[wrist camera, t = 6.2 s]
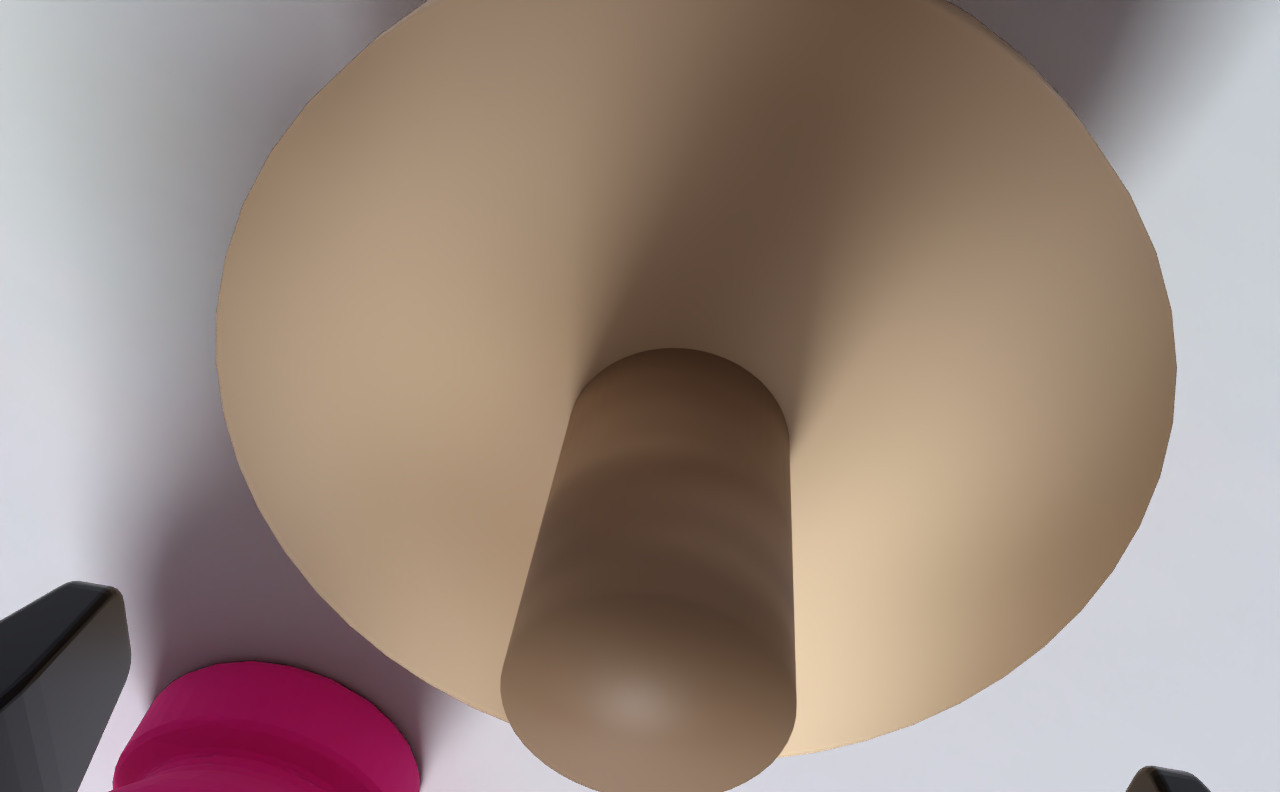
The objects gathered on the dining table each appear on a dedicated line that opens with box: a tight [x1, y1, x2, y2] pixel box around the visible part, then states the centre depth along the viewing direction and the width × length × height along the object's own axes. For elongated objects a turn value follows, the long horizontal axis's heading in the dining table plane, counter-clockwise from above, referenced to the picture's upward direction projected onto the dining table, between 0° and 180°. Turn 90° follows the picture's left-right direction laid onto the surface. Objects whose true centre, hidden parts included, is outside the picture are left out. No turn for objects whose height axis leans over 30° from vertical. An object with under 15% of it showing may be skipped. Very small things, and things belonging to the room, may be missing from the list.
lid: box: [216, 0, 1177, 792], centre depth 12 cm, size 11×11×5 cm
